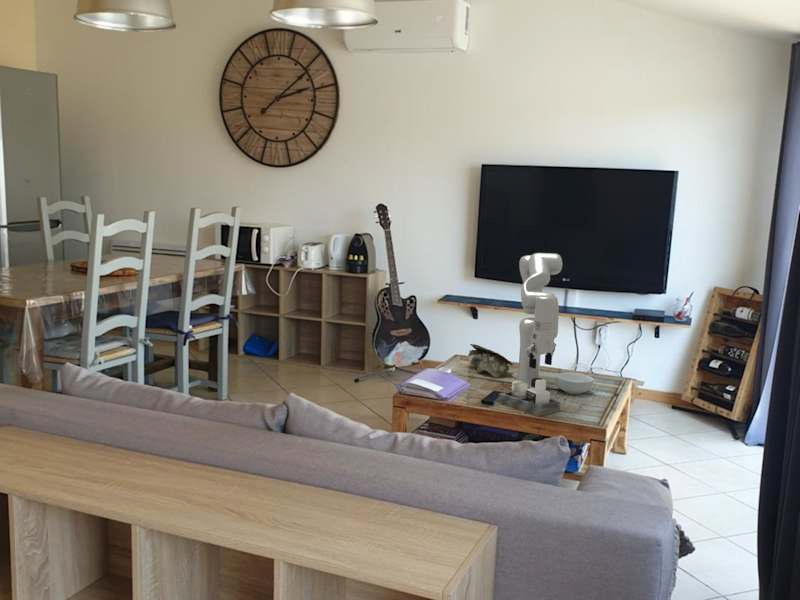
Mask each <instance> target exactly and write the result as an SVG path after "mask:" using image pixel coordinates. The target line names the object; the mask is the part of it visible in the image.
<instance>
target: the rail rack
mask: <svg viewBox="0 0 800 600" xmlns="http://www.w3.org/2000/svg"><path fill="white" fill-rule="evenodd" d="M527 389H528V388H527V382H524V381H516V380H513V381H512V383H511V390H509V391H505V392H504V391H503V392H500V393H498V403H499V404H502V405H504V406H508V407H511V408H514V409H517V410H519V411H522V412H524V413H525V412H526V413H528V414H531V415H534V416H537V417H542V416H545V415H549V414H554V413H557V412H560V411H561V405H562V404H561V403H562V402H561V400H560V401H559V400H556V399H553V398H551V397H550V399H549V403H547V404H542V405H537V404H534V403H531V402H528V401H526V390H527Z"/></svg>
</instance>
